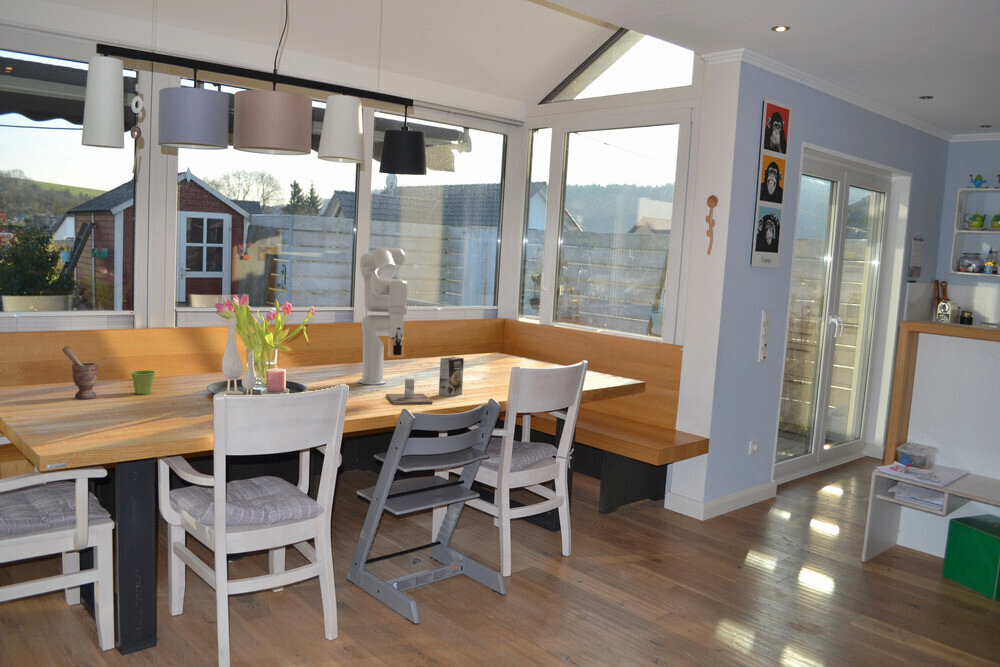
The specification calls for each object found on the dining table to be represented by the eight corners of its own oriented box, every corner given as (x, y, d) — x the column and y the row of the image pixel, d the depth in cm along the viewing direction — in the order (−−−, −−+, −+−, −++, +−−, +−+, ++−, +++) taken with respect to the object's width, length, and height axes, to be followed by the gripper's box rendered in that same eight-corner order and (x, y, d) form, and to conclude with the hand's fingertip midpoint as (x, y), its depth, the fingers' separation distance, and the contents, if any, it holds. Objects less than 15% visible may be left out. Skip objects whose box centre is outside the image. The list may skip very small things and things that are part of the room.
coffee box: (449, 396, 334) (450, 359, 332) (438, 394, 338) (439, 358, 336) (462, 394, 341) (464, 358, 339) (451, 391, 345) (453, 356, 343)
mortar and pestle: (64, 401, 288) (63, 348, 286) (62, 396, 295) (61, 345, 293) (99, 399, 295) (98, 347, 292) (96, 395, 302) (95, 344, 300)
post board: (386, 396, 327) (386, 375, 326) (423, 395, 332) (423, 375, 331) (393, 404, 310) (394, 382, 309) (432, 404, 315) (433, 382, 314)
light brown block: (387, 355, 320) (388, 337, 319) (401, 355, 322) (402, 337, 321) (389, 357, 315) (390, 338, 314) (403, 357, 316) (404, 338, 315)
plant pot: (137, 396, 302) (137, 374, 301) (125, 393, 308) (125, 371, 307) (160, 393, 310) (160, 372, 309) (148, 390, 315) (148, 369, 315)
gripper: (385, 308, 323) (384, 351, 325) (391, 311, 307) (389, 356, 309) (403, 308, 325) (401, 351, 327) (410, 312, 309) (408, 356, 311)
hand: (396, 353), depth 318 cm, fingers closed on light brown block, 5 cm apart
